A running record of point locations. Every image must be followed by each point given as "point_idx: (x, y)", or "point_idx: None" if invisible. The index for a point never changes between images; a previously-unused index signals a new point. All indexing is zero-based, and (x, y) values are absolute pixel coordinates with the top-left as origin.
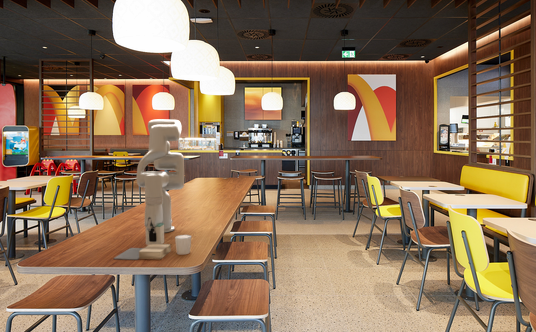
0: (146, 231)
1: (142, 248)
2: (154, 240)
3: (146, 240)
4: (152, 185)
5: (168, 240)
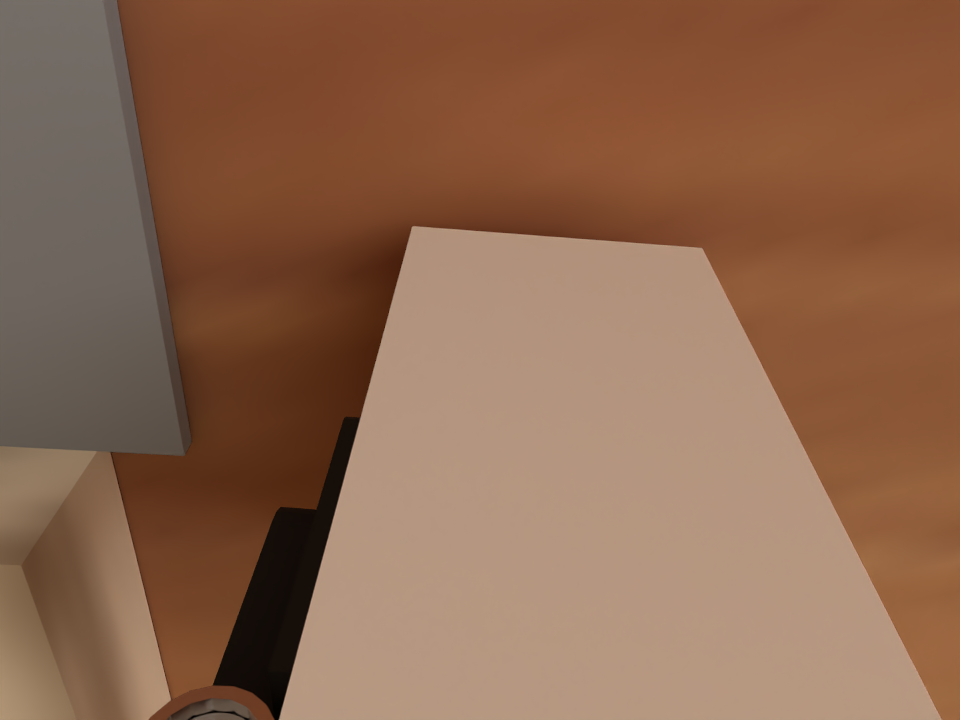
0: (323, 605)
1: (114, 220)
2: None
3: (395, 312)
4: None
5: (939, 546)
